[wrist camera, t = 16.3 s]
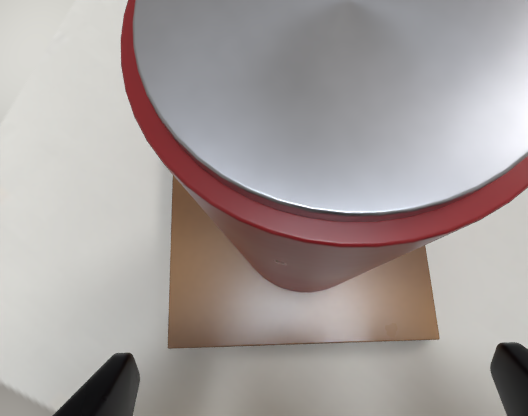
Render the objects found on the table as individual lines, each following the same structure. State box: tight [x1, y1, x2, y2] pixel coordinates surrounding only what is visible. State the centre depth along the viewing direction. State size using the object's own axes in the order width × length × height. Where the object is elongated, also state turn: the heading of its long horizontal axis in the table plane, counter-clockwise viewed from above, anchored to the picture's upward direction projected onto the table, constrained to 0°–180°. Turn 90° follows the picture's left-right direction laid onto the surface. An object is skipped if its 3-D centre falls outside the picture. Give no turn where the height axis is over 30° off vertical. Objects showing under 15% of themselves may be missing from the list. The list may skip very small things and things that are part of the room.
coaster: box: [168, 175, 439, 349], centre depth 18 cm, size 12×12×1 cm
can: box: [121, 0, 528, 292], centre depth 11 cm, size 6×6×13 cm
